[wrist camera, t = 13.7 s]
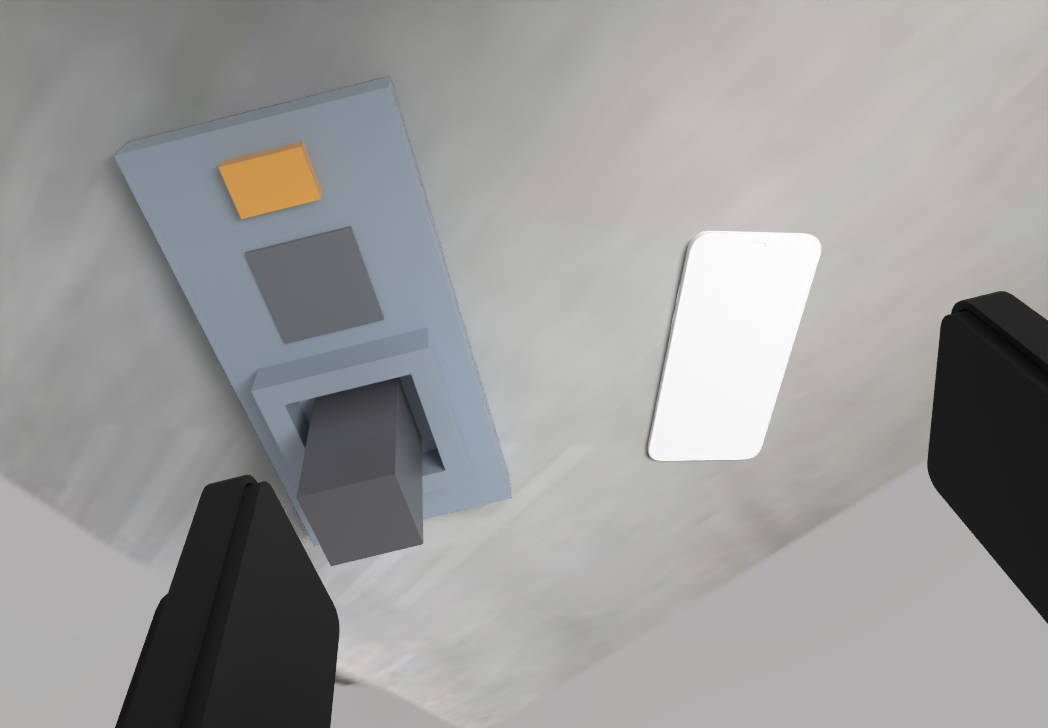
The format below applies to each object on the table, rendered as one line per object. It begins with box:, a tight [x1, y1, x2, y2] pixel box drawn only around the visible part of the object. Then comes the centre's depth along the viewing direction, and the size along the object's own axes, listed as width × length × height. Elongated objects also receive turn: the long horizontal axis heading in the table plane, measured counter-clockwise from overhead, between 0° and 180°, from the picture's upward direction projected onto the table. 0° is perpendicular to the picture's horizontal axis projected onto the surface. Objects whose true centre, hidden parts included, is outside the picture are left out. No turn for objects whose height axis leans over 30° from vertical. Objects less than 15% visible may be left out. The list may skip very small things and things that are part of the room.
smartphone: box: [648, 231, 821, 461], centre depth 45 cm, size 7×1×15 cm
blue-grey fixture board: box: [114, 76, 512, 546], centre depth 40 cm, size 24×12×4 cm, turn 12°
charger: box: [296, 377, 423, 566], centre depth 39 cm, size 4×4×8 cm
